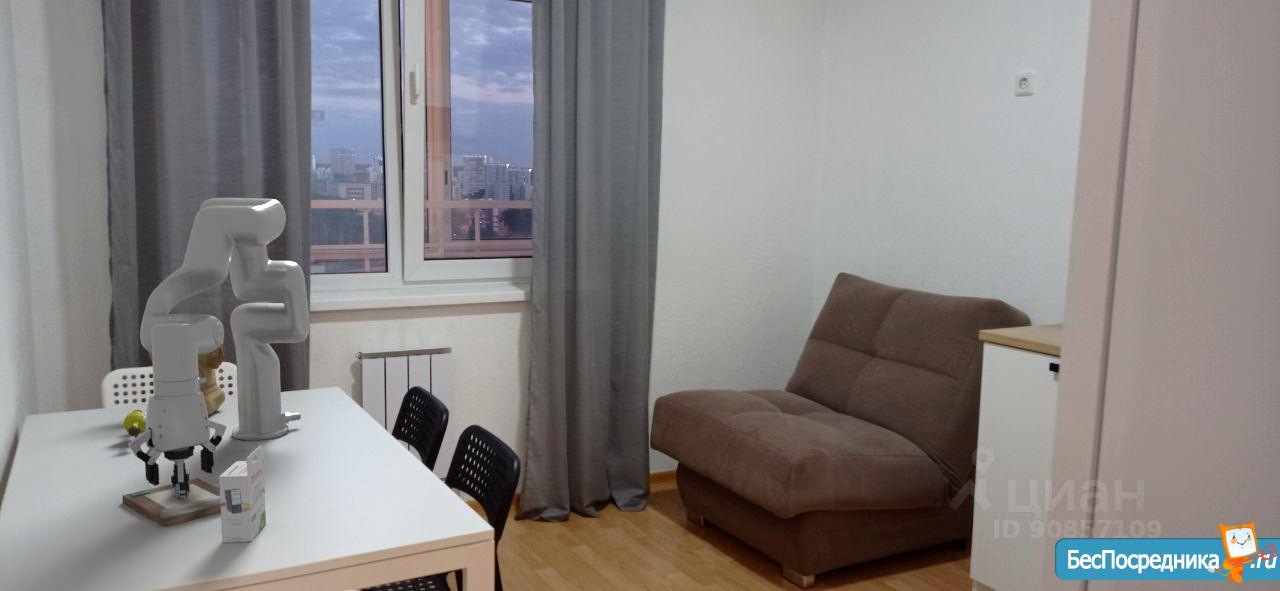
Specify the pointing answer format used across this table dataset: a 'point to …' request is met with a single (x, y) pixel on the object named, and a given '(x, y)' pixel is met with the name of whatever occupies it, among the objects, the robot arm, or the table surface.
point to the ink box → (243, 499)
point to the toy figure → (135, 423)
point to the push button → (180, 470)
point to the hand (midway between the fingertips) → (180, 477)
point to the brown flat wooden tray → (176, 503)
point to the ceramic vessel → (210, 378)
